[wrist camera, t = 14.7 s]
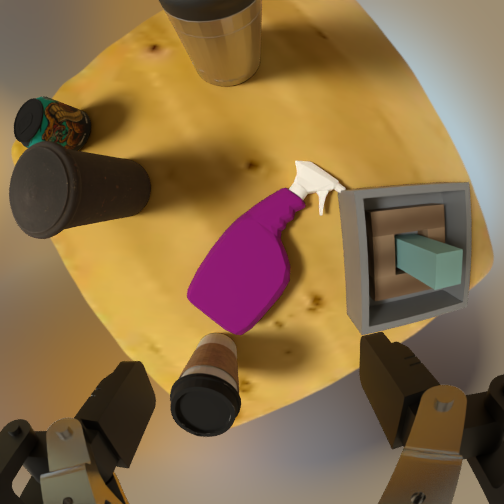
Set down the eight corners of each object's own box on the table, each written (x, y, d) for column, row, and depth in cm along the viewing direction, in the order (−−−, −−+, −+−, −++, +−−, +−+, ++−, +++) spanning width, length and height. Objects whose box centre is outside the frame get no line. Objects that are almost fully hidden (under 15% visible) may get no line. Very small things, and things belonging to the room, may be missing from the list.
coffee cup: (187, 364, 43) (163, 428, 29) (195, 319, 42) (167, 378, 27) (238, 376, 44) (231, 444, 29) (250, 332, 42) (247, 397, 27)
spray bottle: (184, 290, 40) (288, 149, 38) (245, 338, 40) (352, 196, 38) (177, 294, 37) (288, 142, 35) (242, 345, 37) (357, 192, 35)
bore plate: (362, 210, 37) (370, 212, 34) (432, 203, 36) (443, 204, 33) (367, 294, 39) (374, 301, 36) (433, 280, 39) (443, 285, 36)
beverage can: (98, 137, 36) (51, 124, 25) (66, 162, 37) (16, 158, 25) (86, 102, 35) (40, 82, 23) (55, 127, 36) (7, 116, 24)
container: (116, 147, 37) (22, 125, 17) (164, 175, 37) (84, 164, 18) (91, 199, 38) (-7, 212, 19) (136, 229, 39) (48, 262, 19)
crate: (337, 190, 37) (353, 190, 31) (441, 182, 37) (469, 182, 30) (346, 313, 41) (361, 335, 34) (443, 292, 40) (467, 306, 33)
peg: (390, 236, 38) (436, 254, 26) (413, 233, 37) (462, 249, 26) (391, 263, 38) (435, 289, 27) (413, 259, 38) (460, 283, 26)
